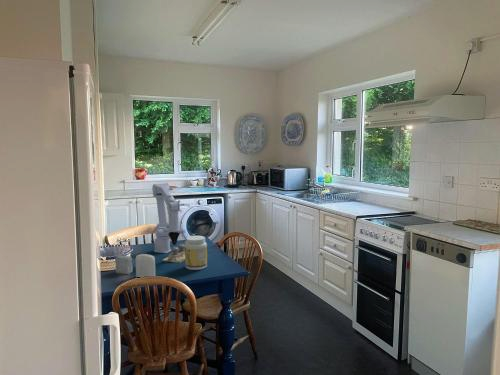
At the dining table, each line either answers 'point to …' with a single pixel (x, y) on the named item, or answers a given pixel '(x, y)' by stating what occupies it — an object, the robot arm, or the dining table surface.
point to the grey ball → (181, 247)
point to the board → (176, 257)
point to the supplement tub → (195, 253)
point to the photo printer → (145, 265)
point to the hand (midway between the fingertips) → (174, 244)
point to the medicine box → (123, 264)
